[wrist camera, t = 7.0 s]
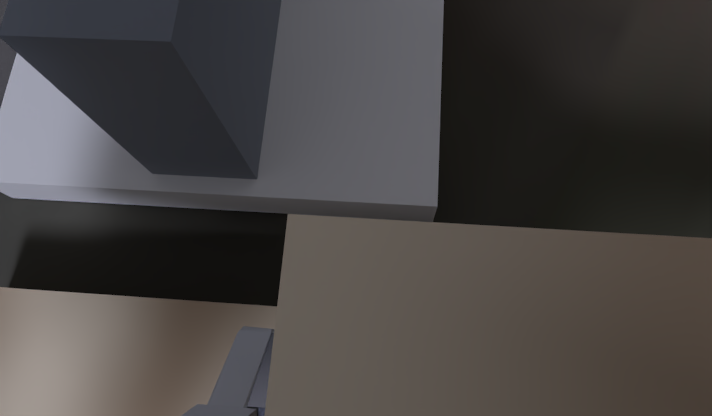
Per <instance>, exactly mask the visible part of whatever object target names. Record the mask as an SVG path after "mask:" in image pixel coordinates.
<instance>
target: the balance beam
mask: <svg viewBox="0 0 712 416" xmlns="http://www.w3.org/2000/svg"><path fill="white" fill-rule="evenodd" d="M243 326H248V327H258V328H269V329H274V338H273V346H272V355H271V364H270V372H269V381H268V389H267V398H266V407H265V415H264V416H712V238H697V237H680V236H663V235H645V234H628V233H611V232H594V231H576V230H559V229H542V228H524V227H507V226H490V225H472V224H455V223H438V222H420V221H403V220H386V219H368V218H351V217H334V216H316V215H299V214H288V217H287V226H286V234H285V243H284V252H283V260H282V269H281V277H280V286H279V295H278V303H277V306H262V305H248V304H233V303H219V302H205V301H190V300H176V299H161V298H147V297H133V296H118V295H104V294H89V293H75V292H61V291H46V290H32V289H17V288H3V287H0V416H181V415H183V414H184V413H186V412H187V411H188V410H190V409H191V408H192V407H194V406H195V405H197V404H204V405H207V404H208V401H209V399H210V397H211V394H212V392H213V389H214V387H215V385H216V382H217V380H218V378H219V375H220V373H221V370H222V368H223V366H224V363H225V361H226V359H227V356H228V354H229V352H230V349H231V347H232V344H233V342H234V340H235V337H236V335H237V333H238V331H239V330H240V329H241V328H242V327H243Z"/></svg>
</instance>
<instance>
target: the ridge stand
mask: <svg viewBox="0 0 712 416" xmlns="http://www.w3.org/2000/svg"><path fill="white" fill-rule="evenodd" d="M443 12H444V0H9V1H8V5H7V8H6V11H5V14H4V17H3V21H2V24H1V27H0V38H1V39H3V40H4V41H5V42H6V43H7V44H8V45H9V46H10V47H11V48H13V49H14V50H15V51H16V52H17V54H16V58H15V61H14V65H13V68H12V71H11V75H10V78H9V81H8V85H7V88H6V92H5V95H4V98H3V102H2V105H1V108H0V192H2V193H4V194H6V195H8V196H10V197H12V198H22V199H39V200H57V201H74V202H92V203H109V204H127V205H144V206H162V207H179V208H196V209H214V210H231V211H249V212H266V213H284V214H301V215H319V216H336V217H354V218H371V219H389V220H406V221H424V222H433V220H434V216H435V213H436V210H437V207H438V174H439V142H440V110H441V77H442V45H443Z"/></svg>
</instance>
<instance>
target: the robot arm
mask: <svg viewBox="0 0 712 416" xmlns="http://www.w3.org/2000/svg"><path fill="white" fill-rule="evenodd" d="M273 338H274V329H269V328H258V327H248V326H243V327H242V328H241V329H240V330H239V331H238V333H237V335H236V337H235V340H234V342H233V344H232V347H231V349H230V352H229V354H228V356H227V359H226V361H225V363H224V366H223V368H222V370H221V373H220V375H219V378H218V380H217V382H216V385H215V387H214V389H213V392H212V394H211V397H210V399H209V401H208V404H207V405H204V404H197V405H195V406H194V407H192V408H191V409H190V410H188V411H187V412H186V413H184V414H183V415H181V416H264V415H265V407H266V398H267V389H268V381H269V372H270V364H271V355H272V346H273Z"/></svg>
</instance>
